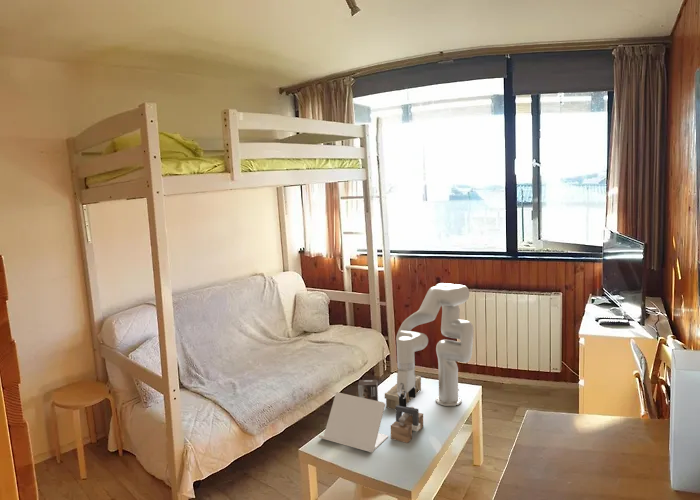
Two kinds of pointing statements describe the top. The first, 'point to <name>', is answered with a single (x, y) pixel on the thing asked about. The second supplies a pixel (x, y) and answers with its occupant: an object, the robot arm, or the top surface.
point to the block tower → (392, 394)
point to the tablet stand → (355, 422)
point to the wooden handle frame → (404, 427)
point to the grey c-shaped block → (411, 411)
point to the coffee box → (368, 389)
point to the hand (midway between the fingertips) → (407, 401)
